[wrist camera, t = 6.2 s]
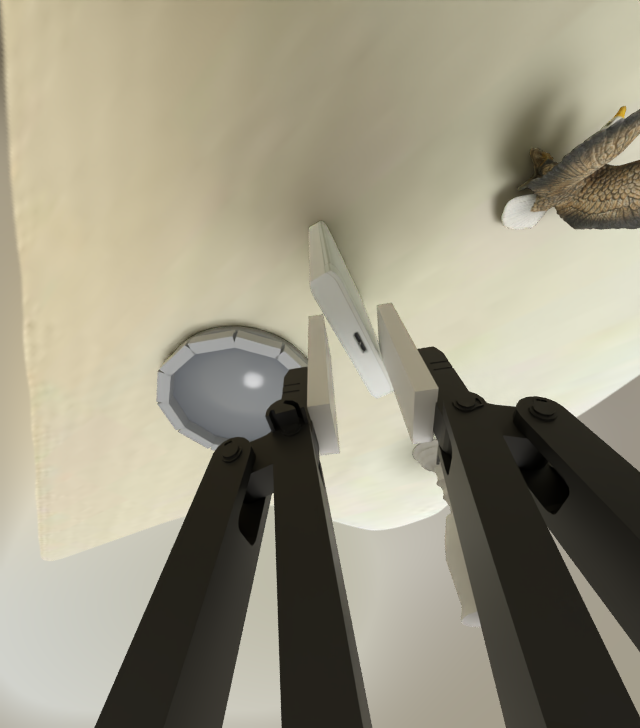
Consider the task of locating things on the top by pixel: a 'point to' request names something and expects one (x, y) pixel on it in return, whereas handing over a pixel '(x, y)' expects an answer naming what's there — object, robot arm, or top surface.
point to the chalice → (450, 538)
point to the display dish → (225, 383)
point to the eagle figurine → (584, 183)
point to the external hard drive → (345, 309)
